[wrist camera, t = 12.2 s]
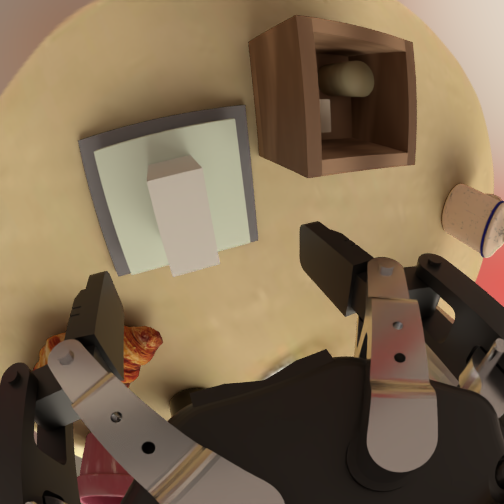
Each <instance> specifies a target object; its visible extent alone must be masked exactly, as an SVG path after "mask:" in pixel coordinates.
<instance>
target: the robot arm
mask: <svg viewBox="0 0 504 504" xmlns="http://www.w3.org/2000/svg"><path fill="white" fill-rule="evenodd" d="M300 262H301V266H302V268H303V270H304V271H305V272H306V273H307V275H308V276H309V277H310V278H311V279H312V280H313V281H314V282H315V283H316V285H317V286H318V287H319V288H320V289H321V290H322V291H323V292H324V293H325V295H326V296H327V297H328V298H329V299H330V300H331V301H332V302H333V304H334V305H335V306H336V307H337V308H338V309H339V310H340V311H341V313H342V314H343V315H344V316H345V317H347V316H349V315H351V314H354V313H357V314H358V318H357V326H356V340H355V352H354V357H333V358H332V356H331V355H330V354H329V352H328V351H327V349H325V350H323V351H320V352H318V353H315V354H313V355H310V356H307V357H305V358H302V359H299V360H297V361H295V362H293V363H292V364H290V365H289V366H287V367H285V368H284V369H282V370H281V371H279V372H277V373H276V374H274V375H273V376H271V377H269V378H268V379H266V380H262V381H254V382H243V383H230V384H223V385H219V386H215V387H212V388H208V389H204V390H200V391H196V392H192V393H190V397H191V401H192V404H190V405H188V406H186V407H184V408H183V409H181V410H180V411H178V412H177V413H176V414H175V415H173V416H172V417H171V418H170V419H169V420H168V421H166V420H165V419H164V418H162V417H161V416H160V415H159V414H157V413H156V412H155V411H154V410H152V409H151V408H150V407H149V406H148V405H147V404H145V403H144V402H143V401H142V400H141V399H140V398H138V397H137V396H136V395H135V394H134V393H133V392H132V391H131V390H130V389H128V388H127V387H126V386H125V385H124V384H123V383H122V382H121V381H124V310H123V306H122V303H121V301H120V298H119V296H118V294H117V291H116V289H115V286H114V284H113V281H112V279H111V276H110V274H109V273H108V272H107V271H104V272H100V273H97V274H93V275H90V276H89V279H88V282H87V286H86V289H84V290H81V291H80V293H79V294H78V295H77V297H76V298H75V300H74V303H73V307H72V310H71V314H70V318H69V322H68V326H67V330H66V334H65V338H64V341H62V342H60V343H59V344H57V345H56V346H55V347H54V348H53V349H52V351H51V352H50V354H49V356H48V364H46V365H44V366H42V367H40V368H38V369H36V370H34V371H31V370H30V369H29V368H28V366H27V365H26V364H24V363H15V364H13V365H12V366H10V367H9V368H8V369H7V370H6V371H5V373H4V374H3V376H2V379H1V383H0V504H81V502H80V496H79V490H78V483H77V475H76V467H75V455H74V439H73V422H75V421H77V420H79V419H81V420H82V421H83V422H84V424H85V425H86V426H87V427H88V429H89V430H90V431H91V432H92V434H93V435H94V436H95V437H96V438H97V440H98V441H99V442H100V443H101V444H102V445H103V447H104V448H105V449H106V450H107V451H108V452H109V453H110V454H111V455H112V456H113V458H114V459H115V460H116V461H117V462H118V463H119V464H120V465H121V466H122V467H123V468H124V469H125V470H126V471H127V472H128V473H129V474H130V475H131V476H132V477H133V478H134V479H133V481H132V483H131V485H130V487H129V488H128V490H127V492H126V494H125V495H124V497H123V499H122V501H121V502H120V504H504V307H503V306H502V305H501V304H499V303H498V302H497V301H496V300H495V299H494V298H493V297H491V296H490V295H489V294H488V293H487V292H486V291H484V290H483V289H482V288H481V287H480V286H478V285H477V284H476V283H475V282H474V281H472V280H471V279H470V278H469V277H467V276H466V275H465V274H464V273H462V272H461V271H460V270H459V269H457V268H456V267H455V266H453V265H452V264H451V263H449V262H448V261H447V260H445V259H444V258H442V257H441V256H438V255H435V254H428V253H427V254H422V255H421V256H420V257H419V258H418V262H417V266H415V267H405V268H403V266H402V265H401V264H400V263H399V262H397V261H395V260H393V259H390V258H386V257H378V258H373V257H372V256H371V255H369V254H368V253H367V252H366V251H364V250H363V249H362V248H360V247H359V246H358V245H355V243H354V242H352V241H351V240H349V239H348V238H347V237H346V236H344V235H343V234H341V233H339V232H336V231H333V230H330V229H328V228H327V227H326V226H324V225H323V224H322V223H320V222H318V221H317V222H312V223H308V224H303V225H301V227H300ZM440 297H441V298H442V299H443V300H445V301H446V302H447V303H448V304H449V305H450V306H451V307H452V308H453V310H454V312H455V320H454V319H452V318H451V317H450V316H449V315H448V314H447V313H446V312H444V311H443V310H442V309H441V308H440V307H439V306H437V304H438V302H439V299H440ZM34 421H35V422H36V423H37V424H38V426H37V445H36V443H35V441H34Z"/></svg>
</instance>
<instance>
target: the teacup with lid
mask: <svg viewBox="0 0 504 504" xmlns="http://www.w3.org/2000/svg"><path fill="white" fill-rule="evenodd" d="M442 225H443V228H444V230H445V232H447V233H448V234H450V235H452V236H453V237H455V238H457V239H458V240H460V241H462V242H463V243H465V244H466V245H468V246H469V247H471V248H473V249H474V250H476V251H477V252H479V253H480V254H481V256H482V257H485V258H489V257H491V256H492V255H493V254H494V253H495V252H496V250H497V249H499V248H500V247H501V246H502V245H503V244H504V201H502V199H501V198H500V197H498V196H496V195H494V194H484V193H482V192H480V191H478V190H476V189H474V188H471V187H469V186H467V185H465V184H458V185H456V186H455V187H454V188H453V189H452V190H451V192H450V193H449V195H448V197H447V200H446V202H445V205H444V209H443V214H442Z"/></svg>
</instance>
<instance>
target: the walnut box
mask: <svg viewBox="0 0 504 504" xmlns="http://www.w3.org/2000/svg"><path fill="white" fill-rule="evenodd" d="M248 43H249V53H250V62H251V72H252V82H253V92H254V102H255V112H256V123H257V134H258V145H259V156H261V157H263V158H265V159H267V160H270V161H272V162H274V163H276V164H279V165H281V166H283V167H285V168H287V169H290V170H292V171H294V172H296V173H298V174H300V175H302V176H304V177H307V178H313V177H319V176H326V175H332V174H339V173H347V172H354V171H362V170H370V169H378V168H387V167H397V166H407V165H415V153H416V128H417V99H416V75H415V62H414V51H413V42H410V41H407V40H404V39H401V38H398V37H395V36H392V35H389V34H386V33H382V32H379V31H375V30H372V29H368V28H364V27H360V26H356V25H351V24H347V23H342V22H337V21H332V20H326V19H320V18H314V17H307V16H299V15H295V16H293V17H291V18H289V19H287V20H286V21H284V22H282V23H280V24H278V25H276V26H275V27H273V28H271V29H269V30H268V31H266V32H264V33H263V34H261V35H259V36H258V37H256V38H254V39H253V40H251V41H249V42H248Z"/></svg>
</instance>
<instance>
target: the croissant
mask: <svg viewBox="0 0 504 504" xmlns="http://www.w3.org/2000/svg"><path fill="white" fill-rule="evenodd" d="M65 334H66V333H61V334H57V335H54V336H52V337H50V338H48V339H47V341H46V345H45V346H44V347H43V348H42V349H41V350H40V353H39V356H40V359H39V362H38V363H36V365H35V367H34V369H33V371H34V370H36V369H38V368H40V367H42V366H44V365H46V364H48V356H49V354H50V352H51V351H52V349H53V348H54V347H55V346H56V345H57V344H59V343H60V342H62V341H64V338H65ZM162 343H163V340H162V337H161V335H160V333H159V332H158V331H156V330H154V329H152V328H151V327H147V326H141V327H136V326H135V327H127V326H124V381H121V382H122V383H123V384H124V385H125V386H126V387H127V388H129V385H130V383H131V382H133V381H134V380H135V379H136V378H137V377H138V375H139V371H140V367H141V365H145V364H146V363H148V362H149V361H150V360H151V359H152V358H153V356H154V354H155V352H156V350H157V349H158V347H159V346H160V345H161V344H162Z"/></svg>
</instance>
